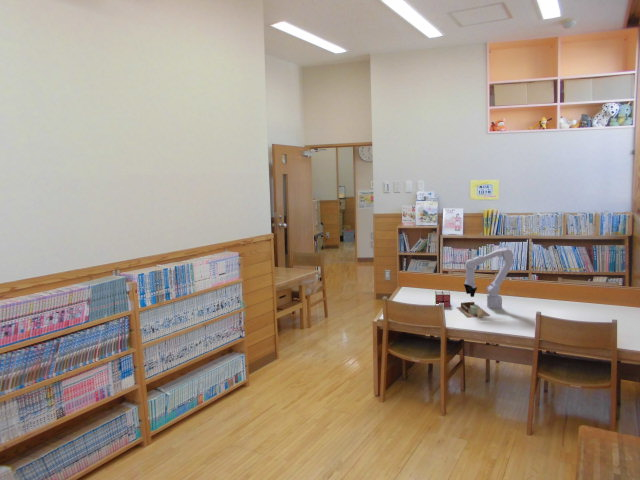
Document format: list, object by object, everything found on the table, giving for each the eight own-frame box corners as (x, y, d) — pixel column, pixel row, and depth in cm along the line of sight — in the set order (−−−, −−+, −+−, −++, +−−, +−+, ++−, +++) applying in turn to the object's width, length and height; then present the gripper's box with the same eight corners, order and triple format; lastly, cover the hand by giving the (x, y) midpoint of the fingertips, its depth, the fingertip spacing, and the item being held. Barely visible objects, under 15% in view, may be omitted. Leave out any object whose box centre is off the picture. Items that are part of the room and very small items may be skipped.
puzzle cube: (450, 308, 334) (450, 294, 332) (436, 307, 336) (435, 294, 334) (449, 303, 343) (449, 290, 342) (435, 303, 346) (435, 290, 344)
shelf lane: (477, 306, 333) (477, 301, 332) (490, 317, 311) (490, 310, 311) (455, 308, 332) (455, 302, 331) (467, 318, 310) (467, 312, 310)
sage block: (477, 311, 320) (477, 303, 319) (484, 317, 309) (484, 309, 308) (470, 312, 320) (470, 304, 319) (476, 318, 308) (476, 310, 308)
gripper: (460, 274, 335) (461, 292, 337) (468, 279, 320) (468, 298, 323) (470, 273, 335) (470, 292, 337) (478, 279, 321) (478, 297, 323)
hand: (470, 295), depth 330 cm, fingers open, 7 cm apart
